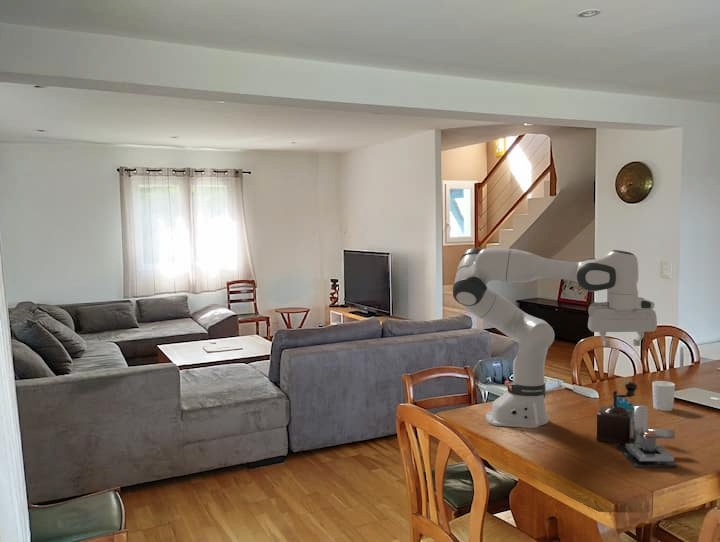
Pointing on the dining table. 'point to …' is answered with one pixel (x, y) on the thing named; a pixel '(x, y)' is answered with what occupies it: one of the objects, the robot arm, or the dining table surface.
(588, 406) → the dining table surface
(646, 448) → the pin
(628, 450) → the pipe elbow on plate
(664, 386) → the white cup
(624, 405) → the gear
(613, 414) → the dark brown coffee grinder
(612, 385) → the dining table surface
